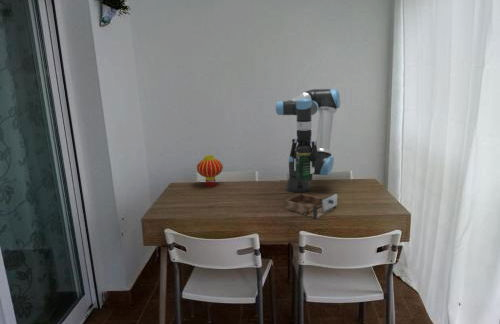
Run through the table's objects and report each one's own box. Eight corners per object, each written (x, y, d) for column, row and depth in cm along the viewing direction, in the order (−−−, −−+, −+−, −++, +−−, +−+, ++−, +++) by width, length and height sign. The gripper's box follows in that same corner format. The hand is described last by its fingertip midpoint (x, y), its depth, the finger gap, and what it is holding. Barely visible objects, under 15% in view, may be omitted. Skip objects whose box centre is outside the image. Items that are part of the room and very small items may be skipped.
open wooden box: (284, 209, 195) (284, 198, 194) (301, 201, 206) (301, 190, 204) (316, 218, 181) (316, 206, 180) (332, 209, 192) (333, 198, 190)
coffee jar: (314, 181, 187) (314, 145, 183) (299, 182, 186) (299, 146, 182) (309, 176, 196) (308, 142, 192) (294, 177, 196) (294, 143, 191)
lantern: (199, 190, 233) (196, 144, 225) (197, 183, 249) (193, 140, 242) (225, 187, 236) (223, 142, 229) (221, 180, 253) (218, 138, 246)
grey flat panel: (322, 211, 187) (322, 200, 185) (335, 204, 196) (335, 193, 194) (325, 212, 185) (325, 201, 184) (338, 205, 194) (339, 194, 193)
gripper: (282, 128, 190) (283, 169, 195) (318, 132, 175) (317, 176, 180) (291, 126, 195) (291, 166, 201) (326, 130, 180) (326, 173, 185)
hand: (304, 171), depth 190 cm, fingers closed on coffee jar, 9 cm apart
